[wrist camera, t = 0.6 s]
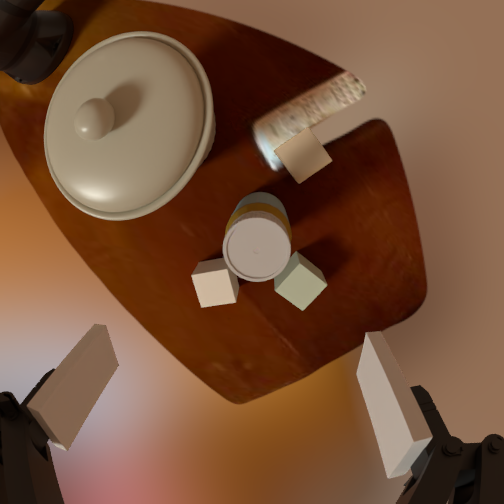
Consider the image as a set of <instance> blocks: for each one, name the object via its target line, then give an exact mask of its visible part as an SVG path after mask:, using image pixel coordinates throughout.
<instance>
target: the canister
mask: <svg viewBox="0 0 504 504" xmlns="http://www.w3.org/2000/svg"><path fill="white" fill-rule="evenodd" d="M215 127H216V123H215V114H214V111H213V97H212V91H211V87H210V83H209V80H208V77H207V75H206V73H205V70H204V69H203V67H202V65H201V63H200V62H199V60H198V59H197V58H196V57H195V55H194V54H193V53H192V52H191V51H190V50H189V49H188V48H187V47H185V46H184V45H183V44H181V43H180V42H178V41H177V40H175V39H173V38H171V37H169V36H166V35H163V34H159V33H155V32H146V31H137V32H128V33H123V34H120V35H116V36H113V37H111V38H108V39H106V40H104V41H102V42H100V43H98V44H97V45H95V46H93V47H92V48H91V49H89V50H88V51H86V52H85V53H84V54H83V55H82V56H81V57H79V58H78V59H77V60H76V61H75V62H74V63H73V65H72V66H71V67H70V68H69V69H68V71H67V72H66V73H65V75H64V76H63V78H62V79H61V81H60V82H59V84H58V86H57V88H56V90H55V92H54V94H53V97H52V99H51V102H50V105H49V108H48V112H47V116H46V121H45V130H44V146H45V154H46V159H47V164H48V167H49V170H50V173H51V175H52V177H53V179H54V181H55V183H56V185H57V187H58V188H59V190H60V191H61V192H62V194H63V195H64V196H65V197H66V198H67V199H68V200H69V201H70V202H71V203H72V204H73V205H74V206H76V207H77V208H78V209H80V210H81V211H83V212H85V213H87V214H89V215H91V216H94V217H97V218H101V219H106V220H128V219H133V218H137V217H141V216H143V215H146V214H148V213H151V212H153V211H155V210H156V209H158V208H160V207H161V206H163V205H164V204H166V203H167V202H169V201H170V200H171V199H172V198H173V197H175V196H176V195H177V194H178V193H179V192H180V191H181V190H182V189H183V188H184V186H185V185H186V184H187V183H188V182H189V180H190V179H191V177H192V176H193V175H194V173H195V171H196V170H197V168H198V167H199V166H200V165H201V164H202V163H203V161H204V159H206V158H207V156H208V153H209V151H210V150H211V147H212V144H213V142H214V137H215V134H216V132H215Z"/></svg>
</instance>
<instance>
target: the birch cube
mask: <svg viewBox="0 0 504 504" xmlns="http://www.w3.org/2000/svg"><path fill="white" fill-rule="evenodd" d="M274 152H275V154H276V155H277V156H278V158H279V159H280V160H281V162H282V163H283V164H284V166H285V167H286V168H287V170H288V171H289V172H290V174H291V175H292V177H293V178H294V179H295V181H296V182H298V183H299V184H300V183H301V182H303V181H304V180H306V179H307V178H308V177H310V176H311V175H313V174H314V173H316V172H317V171H318V170H320V169H321V168H323V167H324V166H326V165H327V164H329V163H330V162H332V159H331V158H330V156H329V155H328V154H327V152H326V151H325V149H324V148H323V146H322V145H321V144H320V142H319V141H318V139H317V138H316V137H315V135H314V134H313V133H312V131H311V130H310V129H309V127H307V128H306V129H304V130H303V131H301V132H300V133H298V134H297V135H295V136H294V137H292V138H291V139H289V140H288V141H287V142H285V143H284V144H282V145H281V146H279V147H278V148H277V149H275V150H274Z"/></svg>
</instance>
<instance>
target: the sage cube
mask: <svg viewBox="0 0 504 504" xmlns="http://www.w3.org/2000/svg"><path fill="white" fill-rule="evenodd" d="M274 281H275V291H276V292H277V293H279V294H280V295H282V296H283V297H284V298H286V299H287V300H288V301H290V302H291V303H293V304H294V305H295V306H297V307H298V308H299V309H301V310H302V311H303V310H304V309H305V308H306V307H307V306H308V305H309V304H310V303H311V302H312V301H313V300H314V299H315V298H316V297H317V296H318V295H319V294H320V292H321V291H322V290H323V289H324V288H325V287H326V286H327V283H326V280H325V278H324V276H323V274H322V271H321V270H319V269H318V268H317V267H316V266H315V265H313V264H312V263H311V262H310V261H308V260H307V259H306V258H305V257H303V256H302V255H301V254H299V253H298V252H297V251H296V252H295V253H294V254H293V255H292V257H291V258H290V259H289V260H288V263H287V265H286V267H285V268H284V269H283V270H282V272H281V273H279V274H278V275H277V276H275V277H274Z"/></svg>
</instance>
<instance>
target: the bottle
mask: <svg viewBox="0 0 504 504" xmlns="http://www.w3.org/2000/svg"><path fill="white" fill-rule="evenodd" d="M291 238H292V234H291V227H290V224H289V220H288V217H287V214H286V211H285V208H284V206H283V204H282V203H281V201H280V200H279V199H278V198H277V197H275V196H274V195H272V194H270V193H266V192H255V193H251V194H249V195H247V196H246V197H244V198H243V199H242V200H241V201H240V202H239V204H238V205H237V207H236V209H235V210H234V212H233V214H232V215H231V217H230V219H229V221H228V224H227V226H226V232H225V238H224V241H223V243H224V244H223V255H224V259H225V261H226V263H227V265H228V267H229V268H230V269H231V271H232V272H233V273H235V274H236V275H237V276H239V277H241V278H243V279H245V280H248V281H254V282H260V281H266V280H269V279H272V278H274V277H275V276H277V275H278V274H279V273H281V272H282V270H283V269H284V268H285V267H286V265H287V263H288V260H289V259H290V252H291V249H290V248H291V245H290V244H291Z"/></svg>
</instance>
